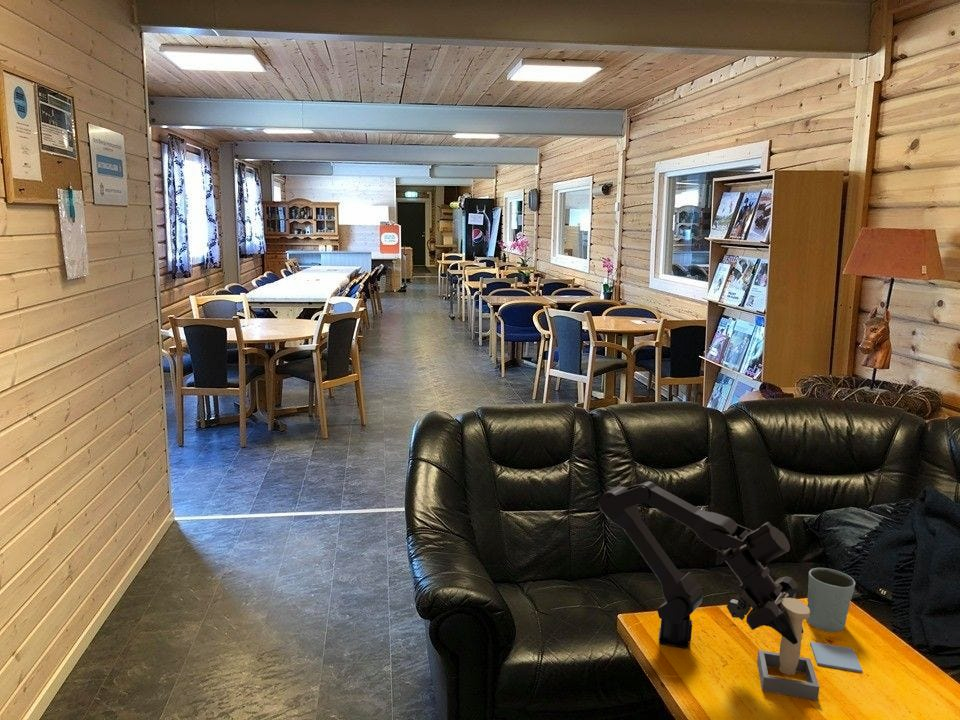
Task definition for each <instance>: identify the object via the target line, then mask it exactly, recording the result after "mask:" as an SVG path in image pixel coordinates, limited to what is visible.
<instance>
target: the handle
mask: <svg viewBox="0 0 960 720" xmlns="http://www.w3.org/2000/svg"><path fill="white" fill-rule="evenodd" d="M807 605H808V604H805V603H804V602H803V601H801V600H799V599H797V598H796V599H794V598H783V599H782V601H781V608H782V609H784V608H785V609H786V611H787V614H788V616H789V619H790V621H791V624H792V626H793V629H794V631H795V634H796V637H797V639H798V643H796V644H792V643H791V642H790V641H789V640H787V639H786V638H785V637H784V636H782V635H781V639H780V645H779V653H780V654H779V660H780V669H779V671H780V672H781V673H784V674H785V675H787V676H794V675H795V674H796V672H795V671H796V667H797V665H798V661H799V657H801V651H802V650H801V649H802V634H803V633H802V627H803V621H804V620H807V619H808V618H809V616H810V609H809V607H808V606H807Z"/></svg>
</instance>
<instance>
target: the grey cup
mask: <svg viewBox="0 0 960 720" xmlns="http://www.w3.org/2000/svg"><path fill="white" fill-rule="evenodd" d="M807 584H808V586H807V590H808V591H807V604H806V605H807V606H808V607H809V609H810V616H809V618H808V619H806V621H807V623H808V624H809V625H810V626H812V627H814V628H816V629H818V630H821V631H824V632H831V633H838V632H842V631H843V630H844V629H845V626H846V622H847V618H848V616H847V615H848V614H849V610H850V607H851V606H850V605H851V604H850V603H851V600H852V598H853V593H854V590H855V587H856V581H855V580H854V578H852V576H850V575H848V574H847V573H844V572H841V571H839V570H836V569H832V568H826V567H815V568H811V569H810V570H809V571H808V583H807Z"/></svg>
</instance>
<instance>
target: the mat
mask: <svg viewBox="0 0 960 720" xmlns="http://www.w3.org/2000/svg"><path fill="white" fill-rule="evenodd" d="M809 642H810V643H809V645H810V648H811V651H812V653H813V656H814V657H813V658H814V660H815V662H816V665H817V666H821V667H827V668H833V669H839V670H845V671H850V672H856V673H862V674H863V672H864V670H863V668H862V666H861V663H860V662H859V659H858V657H857V654H856V652H855V650H854V648H852V647H847V646H842V645H834V644H829V643H824V642H823V643H822V642H815V641H809Z"/></svg>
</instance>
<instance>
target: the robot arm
mask: <svg viewBox="0 0 960 720" xmlns="http://www.w3.org/2000/svg"><path fill="white" fill-rule="evenodd" d="M641 503H642V504H643V503H645V504H648V505H649V506H651V507H652V508H653V509H656V510H658V511H660V512H661V513H663V514H665V515H667V516H668V517H670V518H671V519H674V520H676V522H679V523H681V524H682V525H684V526H686V527H688V528H689V529H691V531H693V532H694V533H695V535H696V536H697V537H698V539H699V540H700V541H702V542H703V543H705V544H706V545H707V546H708V547H710V548H711V549H713V550H717V552H716V559H715V565H716V566H719V565H721V564H723V563H724V562H725V563H726V564H727V565H728V567H729V568H730V570H731V571H732V572H733V574H734V575H735V576H736V578H737V579H738V580H739V582H740V583H741V584H740V585H738V586H739V590H740V591H741V595H740V596H739V597H738V598H737V599H733V598H731V600H730V601H729V602H728V603H727V605H726V609H727V610H728V613H729V614H730V616H731V617H732V618H736V619H737V618H738V619H740V620H741V621H743V620H744V619H745V618H746V619H745V622H746V624H747V625H748V627H749V628H750V630H751V631H754V630H756V629H758V628H760V627H763V626H765V627H770V628H772V630H775V631H776V632H777V633H779V635H780V636H781V637H782V636H784V637H785V638H786V639H787V640H789V641H790V642H791V643H792V644H796V643H798V639H797V637H796V634H795V631H794V629H793V626H792V624H791V621H790V619H789V616H788V614H787V611H786V609H785V608H784V609H782V608H781V601H782V599H783V598H794V599H797V596H796V594H795V593H792V594H790V595H789V594H788V593H785V592H786V591H788V590H790V589H791V590H792V591H793V590H795V589H796V587H798V583H797V582H796V580H794V578H793V577H791V576H787V575H786V576H782V577H783V578H781V577H780V578H781V579H779V578H778V579H779V580H778V581H776V580H775V581H776V582H775V581H774V580H773V578H772V576H770V574H769V573H770V571H771V570H770V568H769V567H768V566H765V567H764V566H763V565H762V563H763V564H767V563H768V564H769V562H771V561H773V560H775V559H777V558H779V557H781V556H782V555H784V554H786V553H788V552H790V550H791V545H790V542H789V540H788V538H787V536H786V535H785V533H783V532H782V531H781V530H780V529H779V528H777V527H776V526H773V525H772V524H771V523H770V522H769V521H767V522H765V523H764V524H762V525H761V526H760V527H759V528H756V529H755V530H752V529H750V528H747V527H745V526H743V525H740V524H738V523H737V522H736V521H735V520H734V519H733V518H731V517H729V516H725V515H723V514H720V513H718V512H712V511H707V510H703V509H700V508H699V507H696V506H695V505H693V504H691V503H689V502H687V501H685V500H684V499H682V498H680V497H679V496H676V495H674V494H672V493H671V492H669V491H667V490H665V489H663V488H662V487H660V486H658V485H657V484H656V483H654V482H653V481H649V480H648V481H645V482H643V483H640V484H635V485H631V486H627V487H626V486H622V485H620V486H615V487H613V488H611V489H610V490H608V491H605V493H602V495H601V496H600V497H599V502H598V507H599V509H600V511H601V512H602V513H603V514H604V515H605V516H606V517H607V518H608V520H609V521H611V522H612V523H613V524H615V525H616V526H618V527H619V528H622V530H624V532H625V534H626V535H627V536H628V538H629V539H630V541H631V542H632V543H633V545H634V546H635V548H636V550H637V551H638V552H639V553H640V555H641V556H642V558H643V559H644V561H645V562H646V563H647V565H648V566H649V568H650V569H651V570H652V572H653V573H654V575H655V576H656V577H657V579H658V580H659V582H660V585H661V590H662V594H663V598H664V600H665V601H664V602H663V603H662V604H661V605H660V606H659V607H658V608H657V610H656V611H657V615H658V618H659V619H660V628H659V630H658V631H659V634H658V643H659V644H661V645H667V646H673V647H677V648H684V649H688V648H689V647H690V646H689V644H690V643H691V640H692V633H693V632H692V631H693V621H692V619H691V615H692V614H693V613H694V612H695V611H696V609H698V607H699V606H700V605H701V604H702V602H703V599H704V594H703V590H702V589H701V588H702V585H701V584H700V583H699V582H698V581H697V580H696V578H695V576H694V574H693V573H692V572H691V571H689V572H687V574H685V573H684V572H682V571H680V570H679V569H678V568H677V567H676V565H675V564H674V563H673V561H672V559H670V557H669V556H668V554H667V552H666V551H665V549H663V547H662V546H661V544H660V543H659V542H658V540H657V539H656V537H655V536H654V535H653V533H652V531H650V529H649V528H648V526H647V525H646V523H645V521H644V520H642V518H641V515H640V511H639V506H638V505H639V504H641ZM726 548H728V549H726ZM795 596H796V597H795ZM802 634H804V629H803V626H802Z"/></svg>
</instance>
